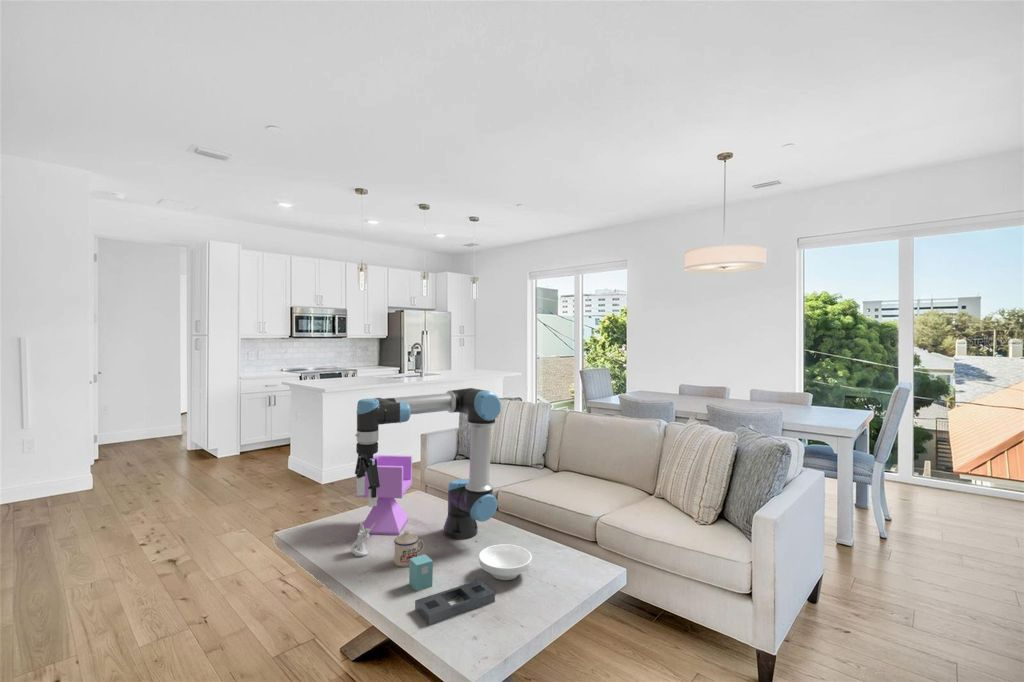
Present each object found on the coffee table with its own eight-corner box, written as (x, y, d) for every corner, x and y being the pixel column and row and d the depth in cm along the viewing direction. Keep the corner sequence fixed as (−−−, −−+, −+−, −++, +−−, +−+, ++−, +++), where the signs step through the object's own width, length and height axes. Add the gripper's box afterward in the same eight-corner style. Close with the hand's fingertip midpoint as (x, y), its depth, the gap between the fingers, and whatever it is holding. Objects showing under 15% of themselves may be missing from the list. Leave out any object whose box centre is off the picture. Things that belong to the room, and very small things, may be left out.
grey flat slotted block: (479, 588, 169) (479, 579, 169) (494, 601, 161) (495, 592, 161) (414, 609, 155) (415, 600, 155) (428, 625, 147) (428, 615, 147)
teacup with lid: (399, 569, 181) (400, 538, 181) (390, 560, 189) (390, 530, 188) (428, 561, 188) (429, 531, 188) (418, 552, 196) (419, 523, 195)
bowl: (537, 567, 185) (538, 549, 185) (521, 593, 167) (522, 572, 167) (490, 558, 192) (490, 540, 192) (469, 582, 173) (470, 562, 173)
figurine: (357, 560, 189) (358, 529, 189) (346, 553, 194) (347, 523, 194) (381, 550, 197) (381, 521, 197) (370, 545, 202) (370, 516, 202)
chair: (400, 536, 211) (402, 467, 210) (355, 535, 211) (356, 466, 211) (411, 518, 231) (412, 455, 230) (369, 517, 231) (370, 454, 231)
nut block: (424, 579, 175) (425, 554, 175) (432, 586, 170) (432, 560, 170) (409, 583, 171) (409, 558, 171) (416, 591, 166) (416, 565, 166)
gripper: (346, 436, 184) (346, 492, 184) (368, 450, 163) (367, 513, 164) (366, 434, 188) (365, 489, 189) (389, 447, 168) (388, 509, 168)
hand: (366, 500), depth 176 cm, fingers open, 13 cm apart
